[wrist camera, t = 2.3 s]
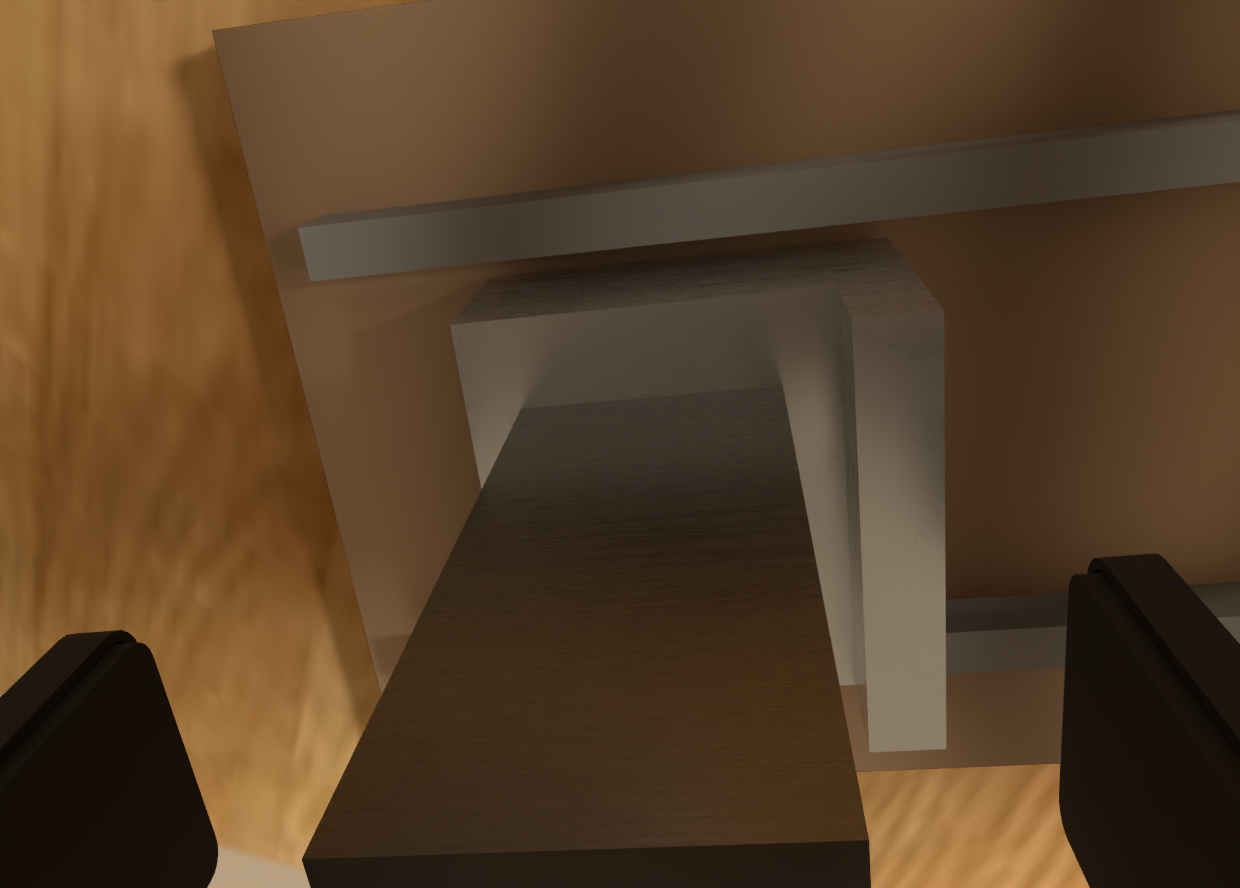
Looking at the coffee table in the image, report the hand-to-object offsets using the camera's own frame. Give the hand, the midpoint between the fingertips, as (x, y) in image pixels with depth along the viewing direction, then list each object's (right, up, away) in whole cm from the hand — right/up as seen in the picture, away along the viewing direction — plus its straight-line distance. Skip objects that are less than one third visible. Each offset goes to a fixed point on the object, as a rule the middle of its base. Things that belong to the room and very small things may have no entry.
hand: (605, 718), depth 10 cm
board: (+7, +4, +7) cm, 11 cm away
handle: (+1, +3, +6) cm, 7 cm away
